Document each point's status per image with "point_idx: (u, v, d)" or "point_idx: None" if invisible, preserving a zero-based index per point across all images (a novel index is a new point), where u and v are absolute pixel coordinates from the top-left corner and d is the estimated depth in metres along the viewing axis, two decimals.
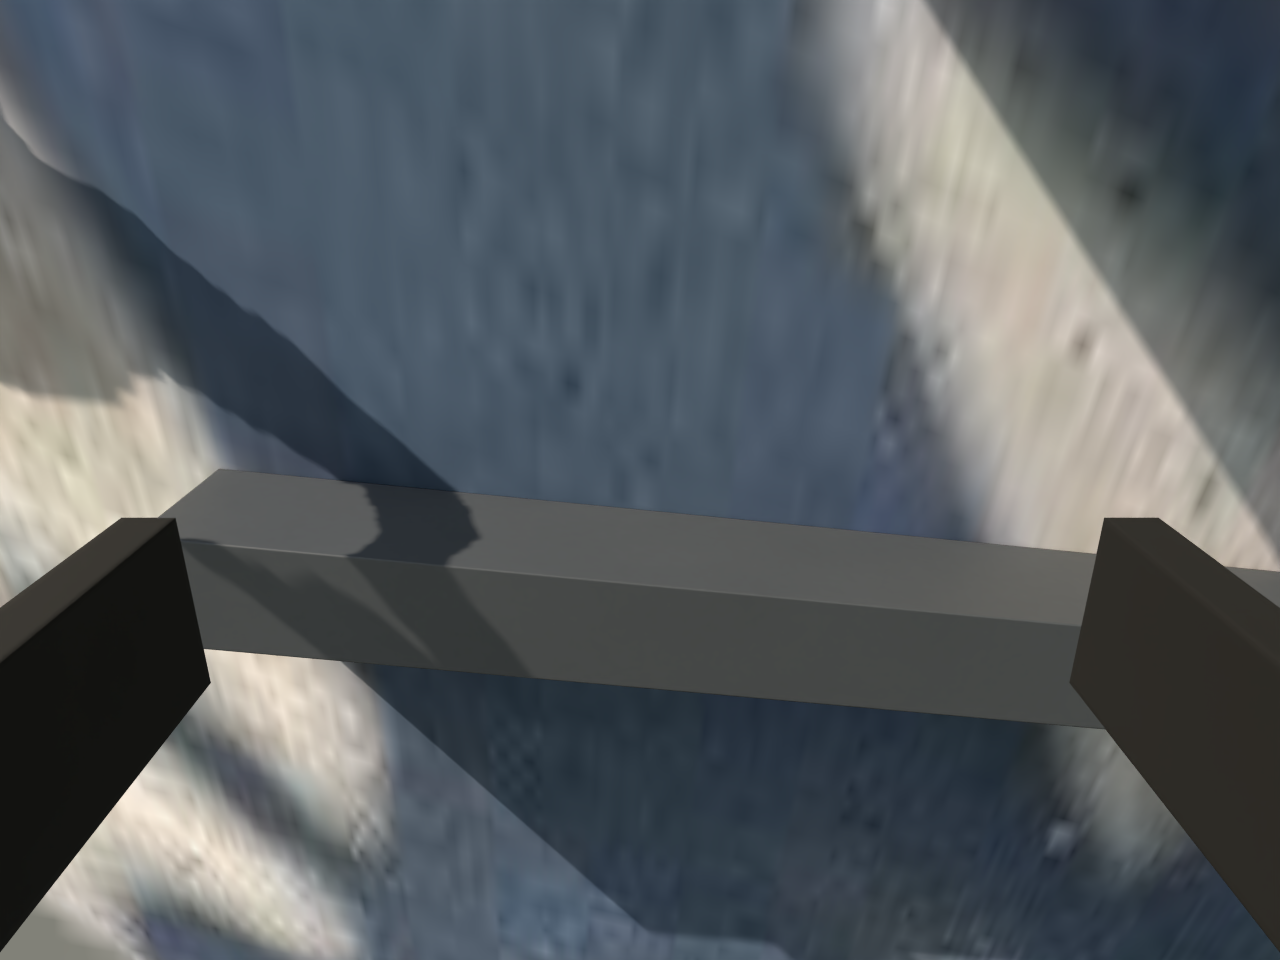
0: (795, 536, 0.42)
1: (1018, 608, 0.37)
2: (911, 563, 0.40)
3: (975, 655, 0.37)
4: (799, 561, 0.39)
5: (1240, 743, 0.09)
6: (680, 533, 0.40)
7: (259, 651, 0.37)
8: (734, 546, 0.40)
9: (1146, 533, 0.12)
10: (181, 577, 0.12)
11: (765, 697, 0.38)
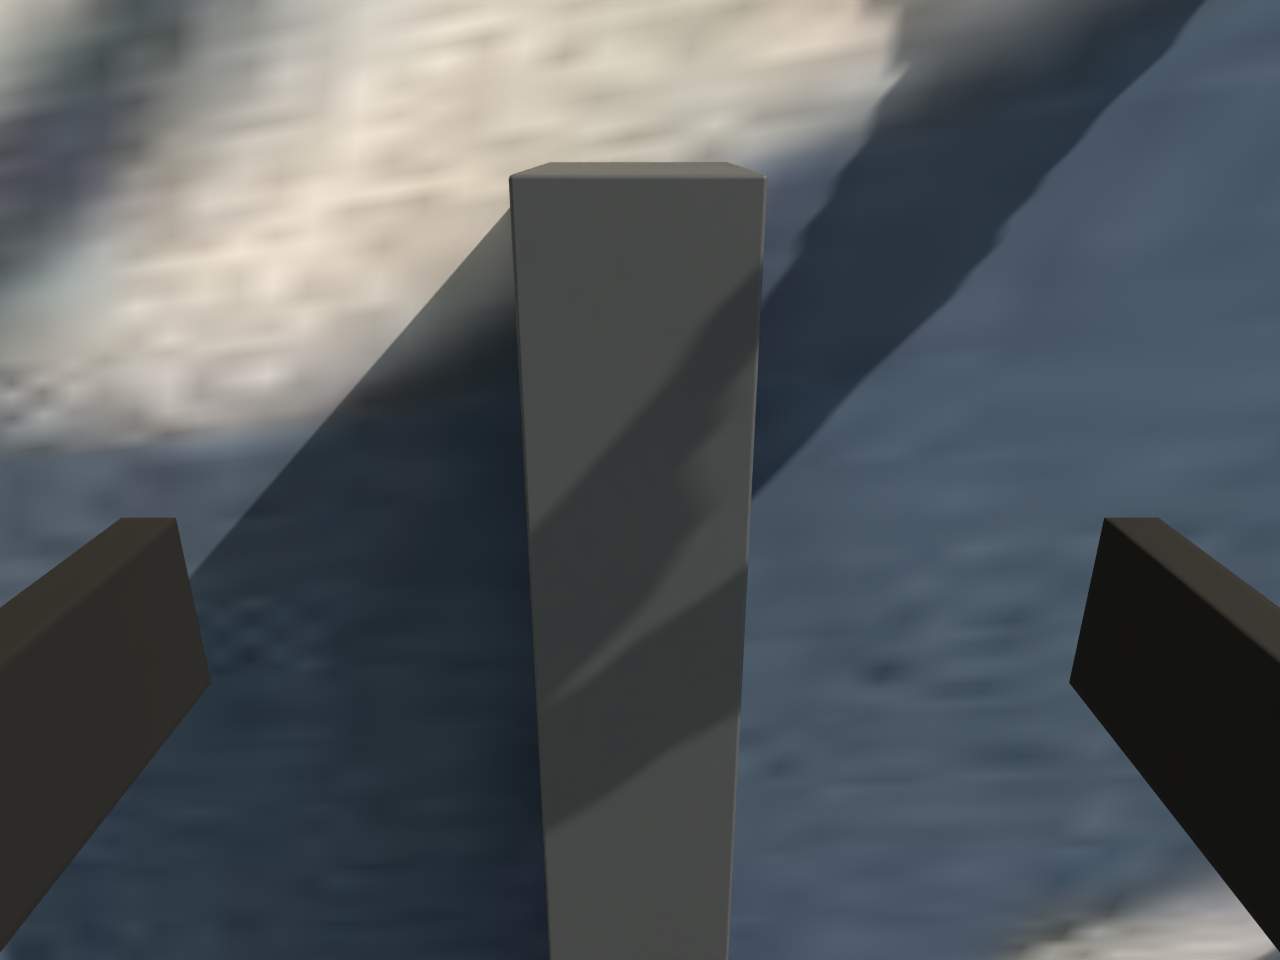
0: None
1: None
2: None
3: None
4: None
5: (1240, 743, 0.09)
6: None
7: (526, 410, 0.19)
8: None
9: (1146, 533, 0.12)
10: (181, 577, 0.12)
11: None
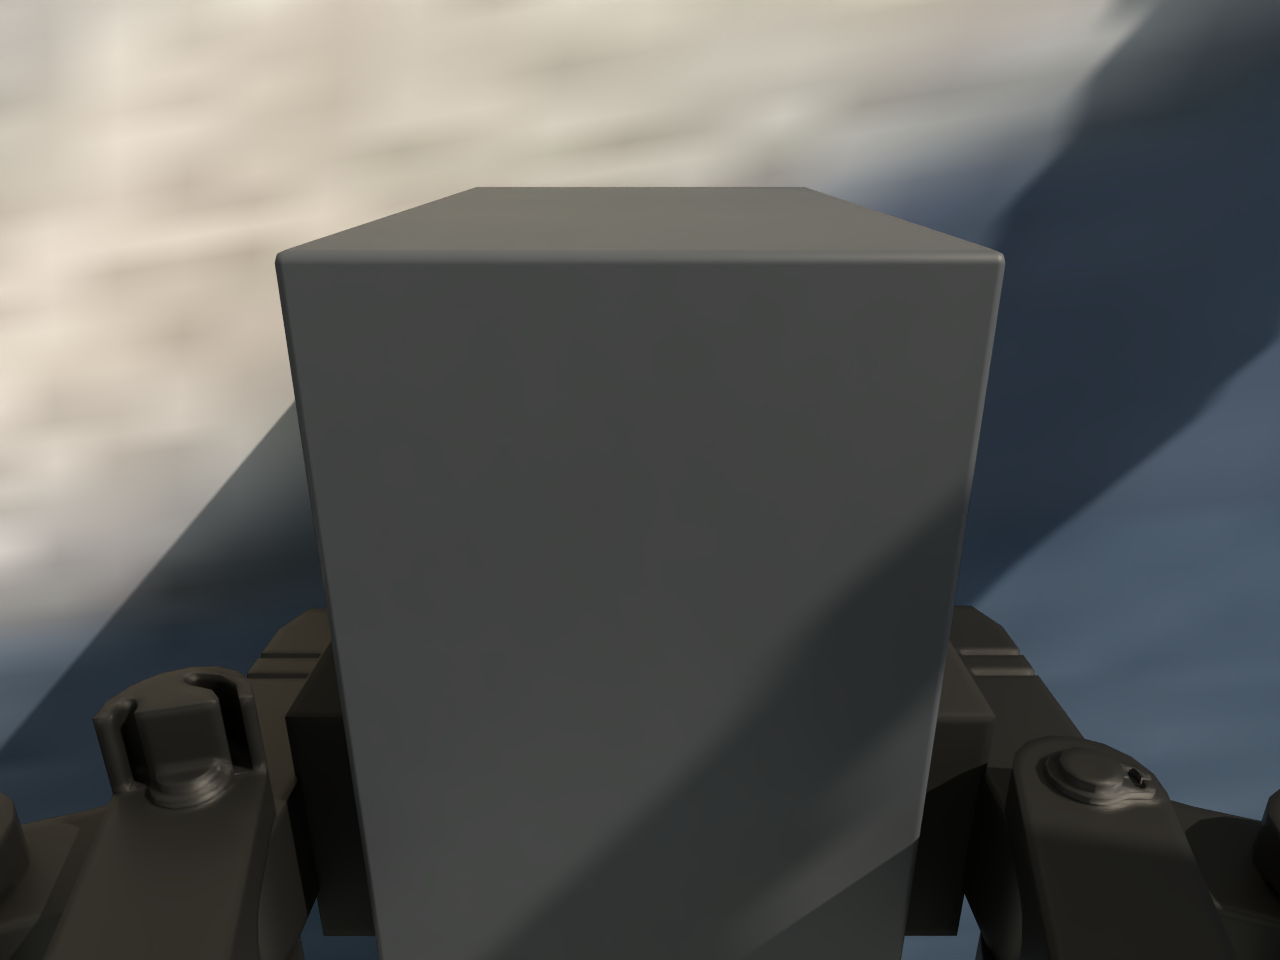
0: None
1: None
2: None
3: None
4: None
5: None
6: None
7: (367, 808, 0.08)
8: None
9: None
10: None
11: None
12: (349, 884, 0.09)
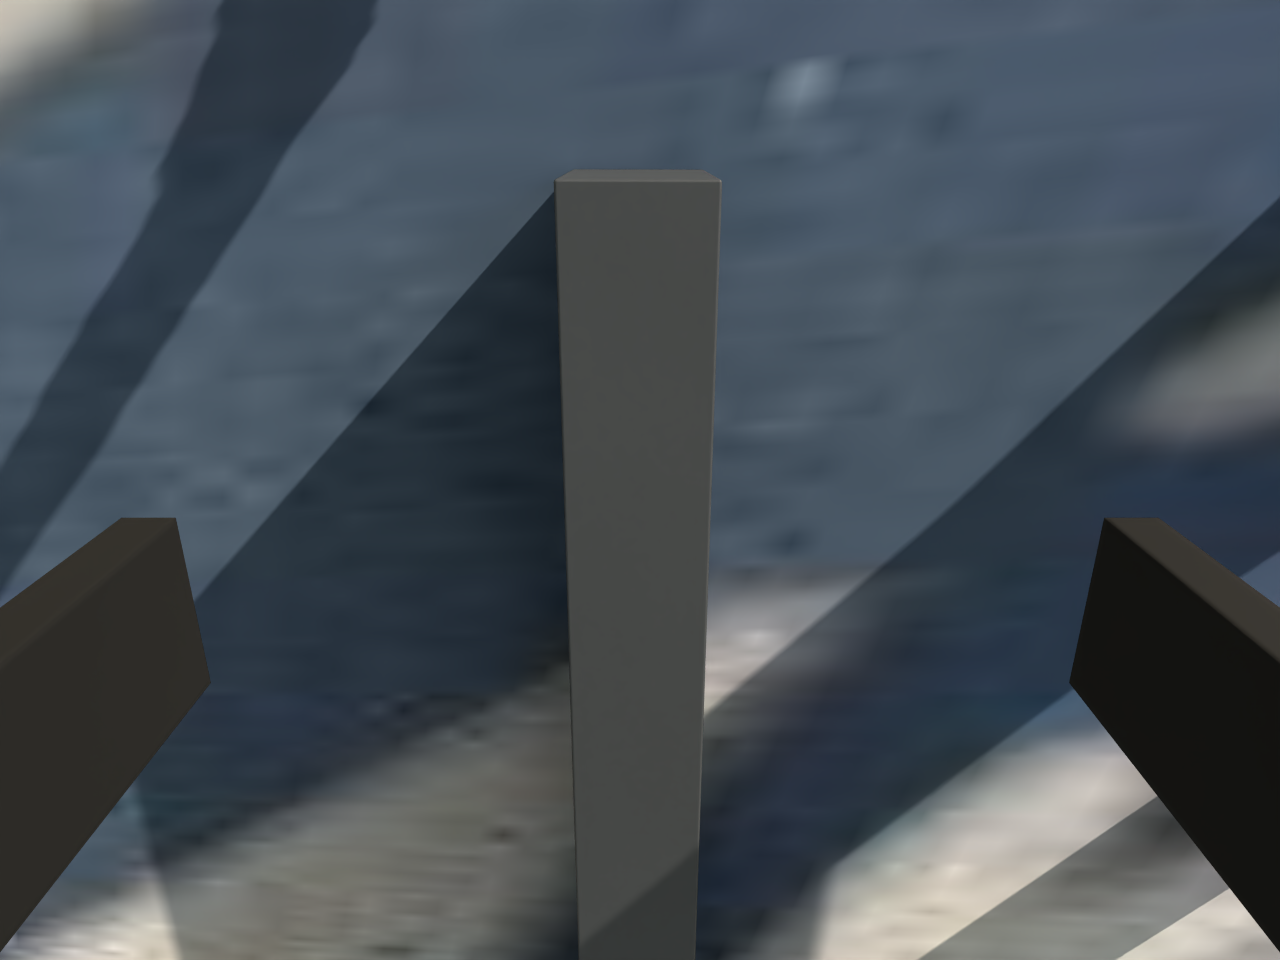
0: None
1: None
2: None
3: None
4: None
5: (1240, 743, 0.09)
6: None
7: (562, 337, 0.28)
8: None
9: (1146, 533, 0.12)
10: (181, 577, 0.12)
11: (578, 859, 0.36)
12: None
